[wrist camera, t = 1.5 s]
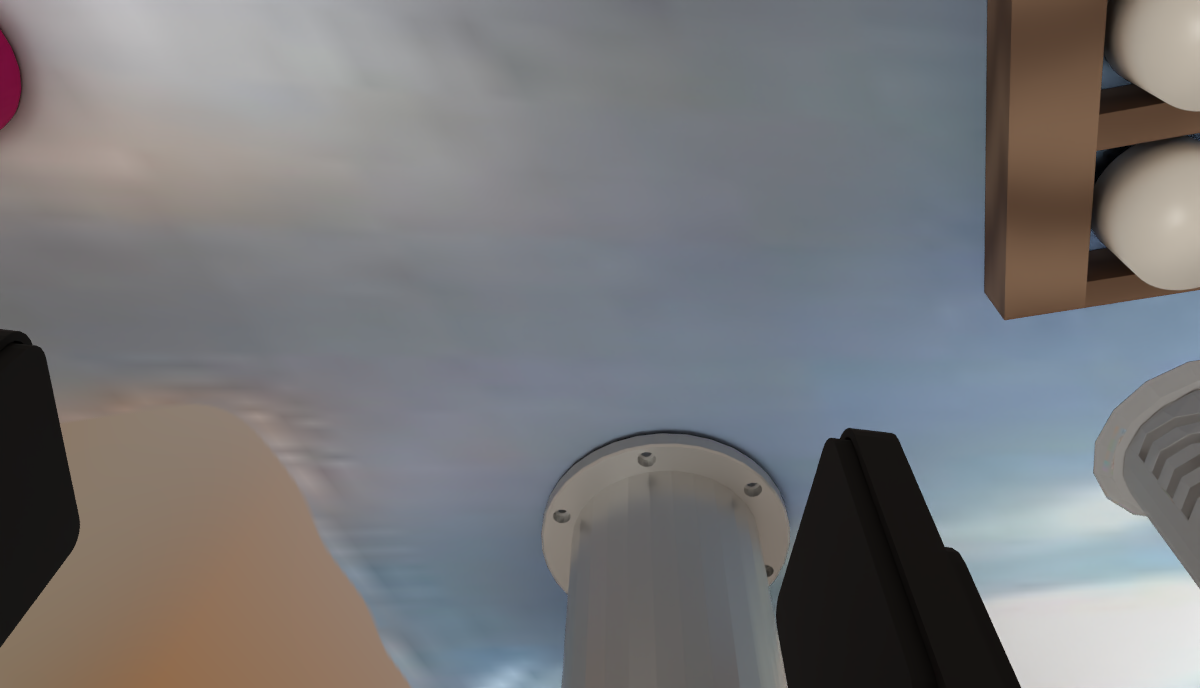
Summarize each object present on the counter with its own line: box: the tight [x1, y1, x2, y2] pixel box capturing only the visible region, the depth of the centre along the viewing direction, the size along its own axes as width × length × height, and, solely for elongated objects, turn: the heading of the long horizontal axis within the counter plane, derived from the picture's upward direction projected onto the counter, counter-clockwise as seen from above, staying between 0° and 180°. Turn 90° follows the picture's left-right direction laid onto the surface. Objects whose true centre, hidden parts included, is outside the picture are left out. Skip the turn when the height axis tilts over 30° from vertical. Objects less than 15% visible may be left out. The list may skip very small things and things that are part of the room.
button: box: [1104, 0, 1200, 111], centre depth 32 cm, size 5×5×3 cm
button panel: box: [984, 0, 1200, 320], centre depth 33 cm, size 22×12×3 cm, turn 11°
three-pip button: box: [1091, 136, 1200, 290], centre depth 35 cm, size 5×5×3 cm
